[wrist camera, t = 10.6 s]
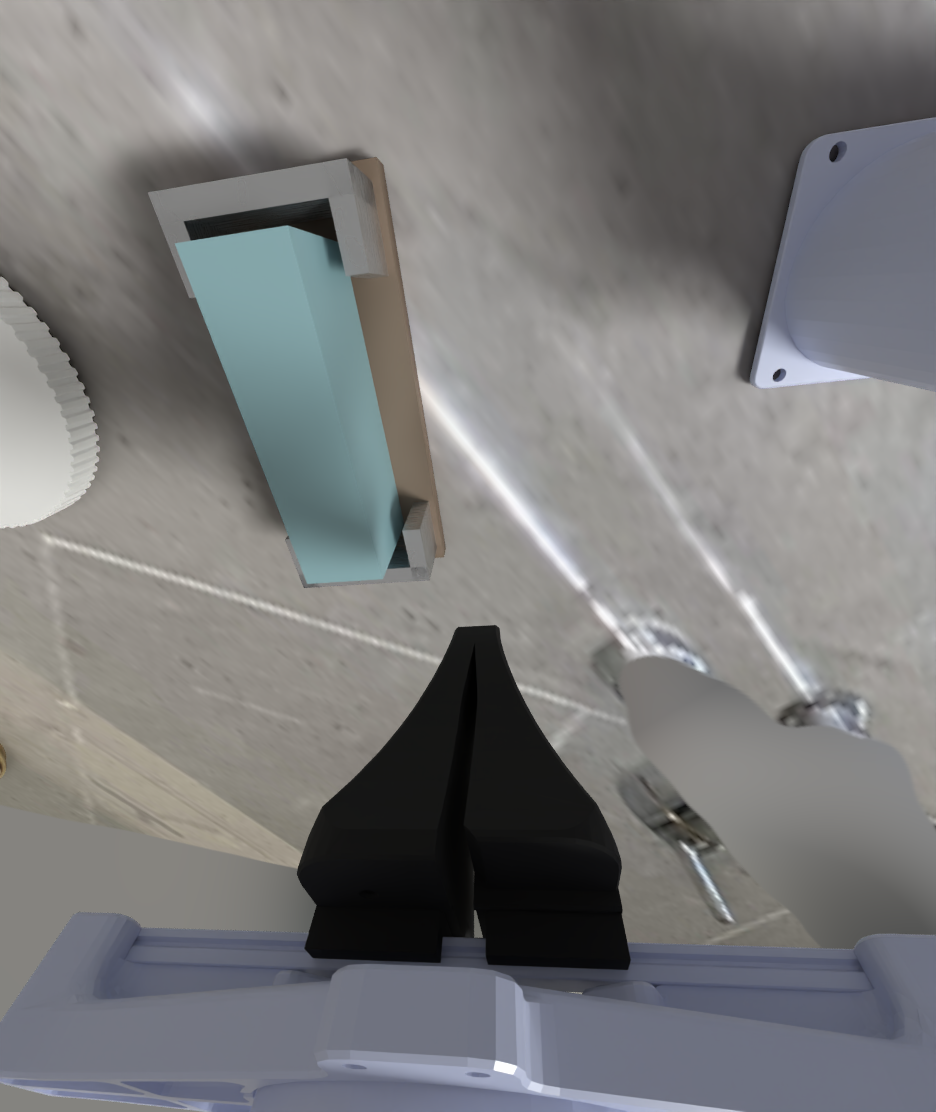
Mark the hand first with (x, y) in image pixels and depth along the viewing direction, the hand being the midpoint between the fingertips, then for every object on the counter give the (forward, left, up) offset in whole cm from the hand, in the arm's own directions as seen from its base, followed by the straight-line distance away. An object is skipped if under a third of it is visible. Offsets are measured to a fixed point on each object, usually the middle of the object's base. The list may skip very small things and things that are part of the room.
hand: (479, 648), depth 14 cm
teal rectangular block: (+6, -6, -9) cm, 13 cm away
